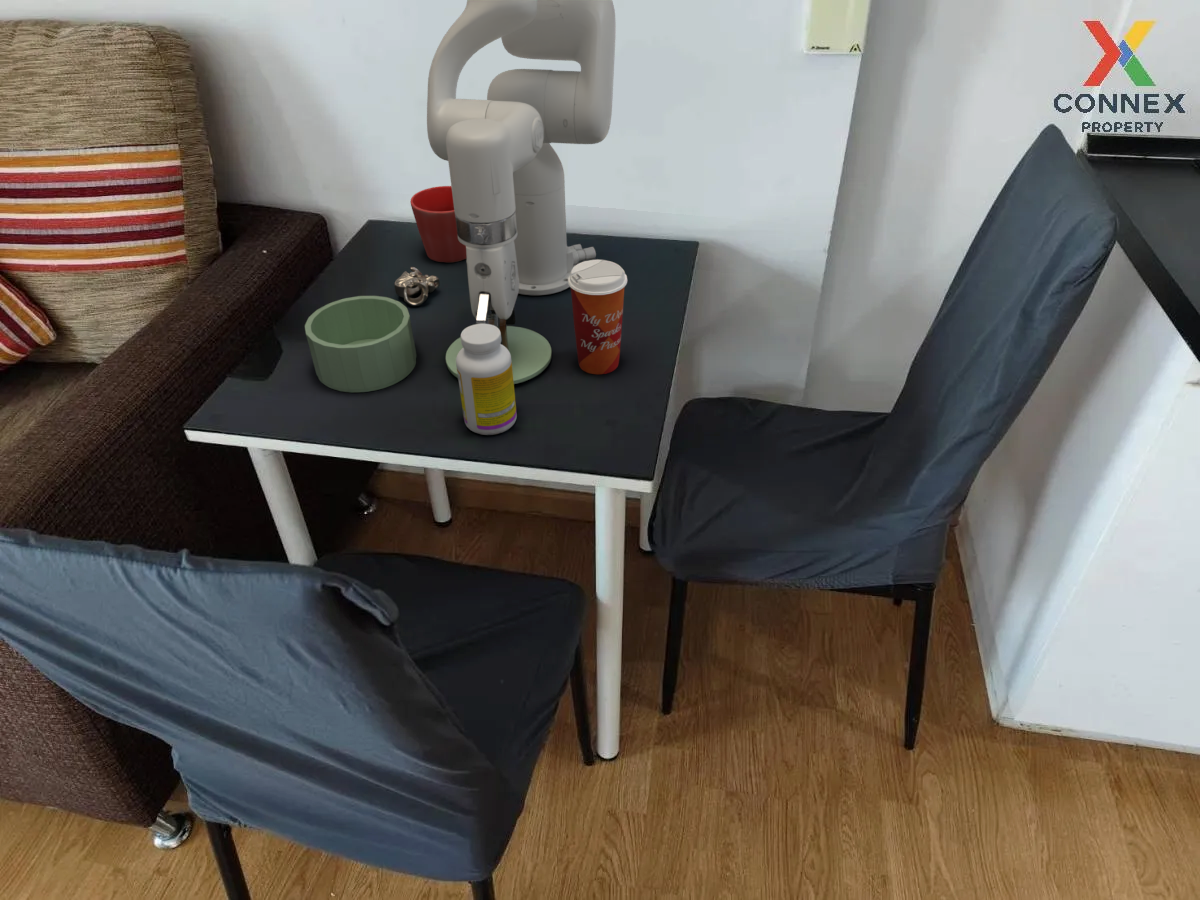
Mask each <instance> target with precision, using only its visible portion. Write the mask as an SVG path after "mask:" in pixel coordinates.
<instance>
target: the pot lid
mask: <svg viewBox="0 0 1200 900" xmlns="http://www.w3.org/2000/svg"><path fill="white" fill-rule="evenodd" d="M488 322H489V324H490V325H494V320H488ZM499 330H500V332H501V335H502V342H503V346H505V347H506V348H507V349H508V351H509V352H510V355H511V360H512V371H513V382H514V385H515V384H520V383H524V382H526V381H528V380H531V379H534V378H535V377H537V376H539V375H540V374H542V372H544V371H545V370H546V369H547V367H548V366H549V364H550V363H551V360H552V347H551V344H550V343H549V341H548V340H547V338H546V337H544V336H543V335H541V334H540V333H538V332H536V331H534V330H532V329H529V328H525V327H520V326H514V325H506V320H505V319H500V328H499ZM462 348H463V346H462V344H461V336H460V337H458V338H457V339H455V340H454V341H453V342H452V343H451V344H450V345H449V347H448V348H447V350H446V353H445V364H446V367H447V369H448V371H449V372H450V373H451V374H452V375H453V376H454V377H455V378H457V379H458V373H457V367H456V357H457V355H458V353H459V351H460V350H461V349H462Z"/></svg>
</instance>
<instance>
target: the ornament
mask: <svg viewBox="0 0 1200 900" xmlns="http://www.w3.org/2000/svg"><path fill="white" fill-rule="evenodd" d="M409 270H410V271H411V272H407V270H405V271H404V272H402V274H401V275H400V276H399V277H398V278H397V279H395V280H394V281H395V282H394V291H395V294H396V295H397V296H399V297H401V298H403V301H404V302H405V303H406V304H408V306H411V307H419V306H422V305H423V304H424V302H425V301H427V299H428V297H429V294H431V293H433V292H434V291H435V290H436V289H438V288H439V287H440V278H439V277H438V276H437V275H433V274H431V275H429V274H424V275H423V273H422V272H421V271H420V270H419V269H418V268H416V267H414V266H410V268H409ZM419 293H421V294H420V295H419V296H418V297H413V296H415V295H417V294H419Z"/></svg>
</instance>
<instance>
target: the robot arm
mask: <svg viewBox="0 0 1200 900" xmlns="http://www.w3.org/2000/svg"><path fill="white" fill-rule="evenodd" d="M615 11H616V10H615V5H614V1H613V0H466V5H465V8H464V10H463V11H462V13H461V14H460V15H459V16H458V18H457V19H456V20H455V21H454V22H453V23H452V24H451V25H450V27H449V28H448V30H447V31H446V33H445V34H444V36H443V37H442V39H441V41H440V43H439V44H438V46H437V48H436V50H435V53H434V56H433V58H432V59H431V63H430V68H429V71H428V78H427V99H426V101H427V103H426V131H427V139H428V143H429V146H430V148H431V150H432V151H433V154H435V155H436V156H437V157H438V158H440V159H441V160H443V161H447V162H448V170H449V171H448V172H449V178H450V186H451V187H452V195H453V203H454V211H455V219H456V227H457V236H458V240H459V241H460V243H462V244H463V245H465V246H466V256H467V258H466V260H465V261H466V262H465V263H466V271H467V272H466V273H467V283H468V284H467V285H468V293H469V302H470V308H471V314H472V316H473V318H474V319H475V320H476V321H475V325H476V324H489V322H488V320H494V326H496V327H497V328H498V329H499V328H500V319H505V320H506V326H514V325H515V324H516V309H515V304H516V301H517V298H518V295H519V294H520V295H524V296H548V295H552V294H553V295H554V294H557V293H560V292H562V291H565V290H567V289H569V288H571V287H570V286H569V284H568V278H569V276H570V275H571V270H572V269H573V267H574V266H576V265H577V264H579V263H581V262H584V261H589V260H596V258H597V253H596V252H597V251H596V249H595V247H594V246H589V247H585V248H583V247H582V245H581V243H578V244H572V245H571V246H568V242H567V241H568V239H567V236H568V235H567V211H566V210H567V209H566V187H565V186H566V183H565V182H566V181H565V171H564V165H563V164H562V161H561V159H560V157H559V155H558V153H557V152H556V150H555V149H554V148H553V146H552V144H568V145H569V144H570V145H596V144H599V143H601V142H603V141H604V140H605V139H606V137H607V136H608V134H609V131H610V128H611V121H612V115H613V114H612V113H613V97H614V96H613V95H614V75H615V59H616V38H617V37H616V36H617V35H616V31H617V30H616V29H617V28H616V27H617V24H616V23H617V22H616V21H617V20H616V12H615ZM498 39H501V44H502V46H503V47H504V50H505V51H506V52H507V53H508V54H509V55H512V56H513V57H516V58H520V59H529V60H542V61H564V62H565V61H567V62H568V61H569V62H570V61H571V62H576V63H578V64H579V66H580V70H554V69H539V68H515V69H508V70H504V71H502V72H500V73H498V74H497V75H496V76H495V77H493V79H492V81H490V84H489V86H488V89H487V94H486V99H475V98H457V89H458V82H459V80H460V79H459V78H460V75H461V73H462V71H463V69H464V67H465V66H466V64H467V62H468V61H469V60H470V59H471V58H472V57H473V56H474V55H475V54H476V53H477V52H478V51H480V50H481V49H482V48H485V47H486V46H487V45H489V44H491V43H493V42H494V41H495V42H496V41H497V40H498ZM490 312H491V313H490ZM501 344H502V345H503V342H502V335H501Z"/></svg>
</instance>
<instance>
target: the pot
mask: <svg viewBox="0 0 1200 900" xmlns="http://www.w3.org/2000/svg"><path fill="white" fill-rule="evenodd" d="M304 332H305V336H306V341H307V343H308V348H309V352H310V355H311V359H312V363H313V368H314V370H315V374H316V376H317V378H318V380H319V382H320V383H321V384H323V385H324V386H326V387H327V388H329V389H332V390H335V391H339V392H344V393H367V392H369V393H370V392H373V391H374V392H375V391H378V390H383V389H385V388H388V387H391V386H393V385H395V384H397V383H399V382H401V381H402V380H404V379H405V378H406V377H408V376H409V375H410V374H411V373H412V372H413V371H414V369H415V367H416V364H417V351H416V345H415V338H414V333H413V327H412V320H411V315H410V312H409V309H408V308H407V306H406V305H404V304H403V303H402V302H401V301H398V300H396V299H393V298H391V297H387V296H379V295H356V296H352V297H345V298H342V299H337V300H335V301H332V302H330V303H327V304H325V305H324V306H321V307H320V308H318V309H316V310H315V311H314V312H313V313H312V314H310V316H308V318H307V320H306V322H305V324H304Z"/></svg>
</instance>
